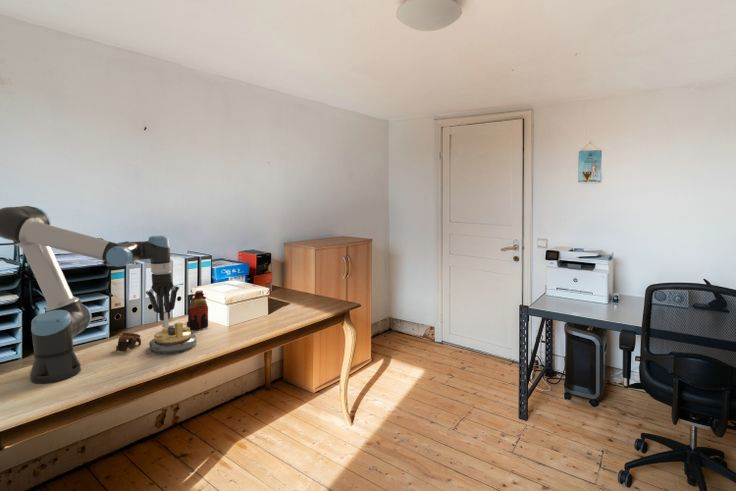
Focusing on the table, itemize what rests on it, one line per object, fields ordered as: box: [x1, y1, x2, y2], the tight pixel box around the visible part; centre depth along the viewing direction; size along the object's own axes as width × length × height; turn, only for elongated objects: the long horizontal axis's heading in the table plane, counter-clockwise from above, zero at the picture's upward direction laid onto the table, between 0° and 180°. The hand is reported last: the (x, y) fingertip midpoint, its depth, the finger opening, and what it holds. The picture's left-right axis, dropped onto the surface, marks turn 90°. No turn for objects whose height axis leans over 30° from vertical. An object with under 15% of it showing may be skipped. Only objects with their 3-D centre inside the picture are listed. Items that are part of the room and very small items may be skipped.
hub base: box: [149, 324, 197, 355], centre depth 182 cm, size 19×19×9 cm
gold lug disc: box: [153, 321, 192, 345], centre depth 182 cm, size 15×15×9 cm
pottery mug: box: [115, 332, 142, 353], centre depth 179 cm, size 12×10×8 cm
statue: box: [186, 290, 209, 332], centre depth 206 cm, size 12×8×20 cm, turn 124°
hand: (165, 327), depth 173 cm, fingers closed
